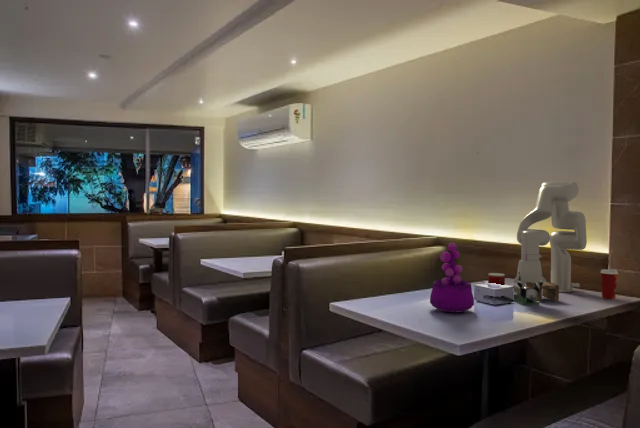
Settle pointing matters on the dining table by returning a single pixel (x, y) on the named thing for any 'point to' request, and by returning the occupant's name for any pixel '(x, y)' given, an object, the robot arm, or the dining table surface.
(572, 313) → the dining table surface
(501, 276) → the canned food
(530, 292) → the grey oblong lump
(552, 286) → the wooden box
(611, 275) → the paper cup
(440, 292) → the decorative plant
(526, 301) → the cradle
